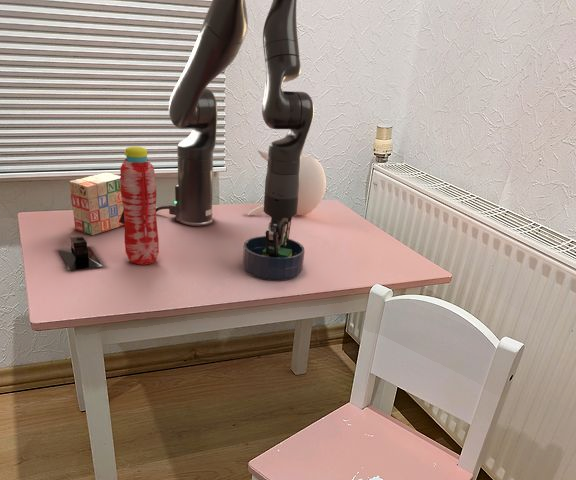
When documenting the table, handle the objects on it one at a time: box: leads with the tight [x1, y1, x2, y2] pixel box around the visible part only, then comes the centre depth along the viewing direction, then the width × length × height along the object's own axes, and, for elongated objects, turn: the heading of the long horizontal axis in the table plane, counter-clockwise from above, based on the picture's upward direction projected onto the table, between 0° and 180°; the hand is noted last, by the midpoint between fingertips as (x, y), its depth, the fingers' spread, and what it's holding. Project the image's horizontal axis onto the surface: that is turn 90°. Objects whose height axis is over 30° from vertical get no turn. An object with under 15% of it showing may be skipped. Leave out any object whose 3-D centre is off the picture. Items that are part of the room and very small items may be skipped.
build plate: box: [58, 236, 104, 272], centre depth 131 cm, size 12×7×5 cm, turn 29°
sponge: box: [262, 247, 292, 258], centre depth 135 cm, size 6×4×4 cm
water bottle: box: [119, 146, 160, 266], centre depth 128 cm, size 12×8×25 cm, turn 28°
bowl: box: [242, 235, 306, 282], centre depth 135 cm, size 14×14×6 cm
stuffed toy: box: [246, 150, 332, 216], centre depth 168 cm, size 19×14×25 cm
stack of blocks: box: [69, 172, 125, 236], centre depth 150 cm, size 21×6×12 cm, turn 148°
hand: (276, 265), depth 136 cm, fingers closed on sponge, 4 cm apart
